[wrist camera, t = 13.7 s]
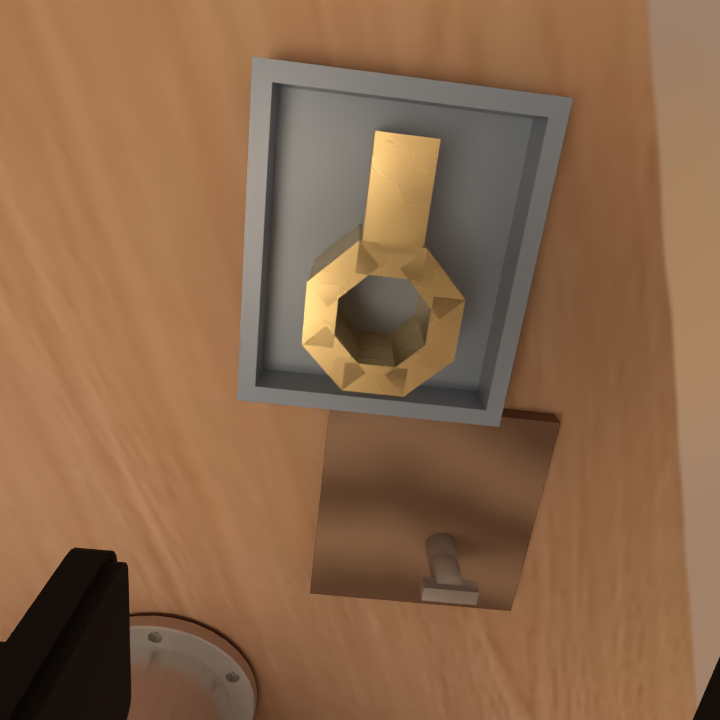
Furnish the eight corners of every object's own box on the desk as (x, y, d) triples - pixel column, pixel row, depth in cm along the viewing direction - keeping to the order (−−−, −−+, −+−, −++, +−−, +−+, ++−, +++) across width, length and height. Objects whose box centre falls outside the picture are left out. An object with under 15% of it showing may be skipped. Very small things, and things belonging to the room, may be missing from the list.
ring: (433, 363, 29) (446, 401, 25) (306, 349, 29) (297, 385, 25) (472, 144, 26) (494, 145, 21) (326, 125, 25) (320, 123, 21)
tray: (486, 400, 31) (499, 426, 28) (248, 375, 30) (237, 400, 28) (549, 102, 26) (573, 97, 23) (264, 65, 25) (252, 56, 22)
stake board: (506, 598, 36) (529, 667, 31) (311, 581, 35) (304, 649, 31) (554, 414, 31) (589, 463, 27) (331, 391, 31) (327, 437, 26)
